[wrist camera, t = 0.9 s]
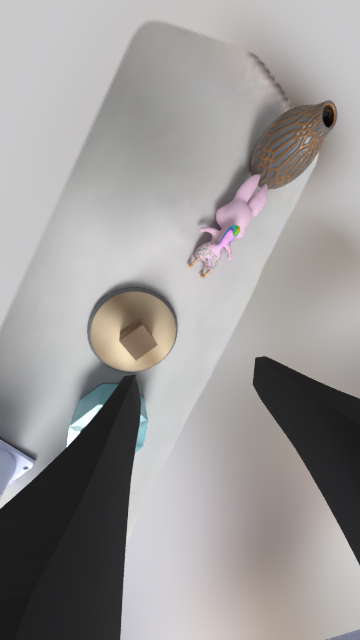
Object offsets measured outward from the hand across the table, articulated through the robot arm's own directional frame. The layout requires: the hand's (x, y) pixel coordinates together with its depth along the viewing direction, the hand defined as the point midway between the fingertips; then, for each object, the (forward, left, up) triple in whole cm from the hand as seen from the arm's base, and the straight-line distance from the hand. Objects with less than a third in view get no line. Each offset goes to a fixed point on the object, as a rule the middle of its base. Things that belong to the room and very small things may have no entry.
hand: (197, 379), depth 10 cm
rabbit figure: (+16, +6, -16) cm, 23 cm away
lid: (-3, +1, -15) cm, 15 cm away
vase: (+26, +10, -16) cm, 32 cm away
